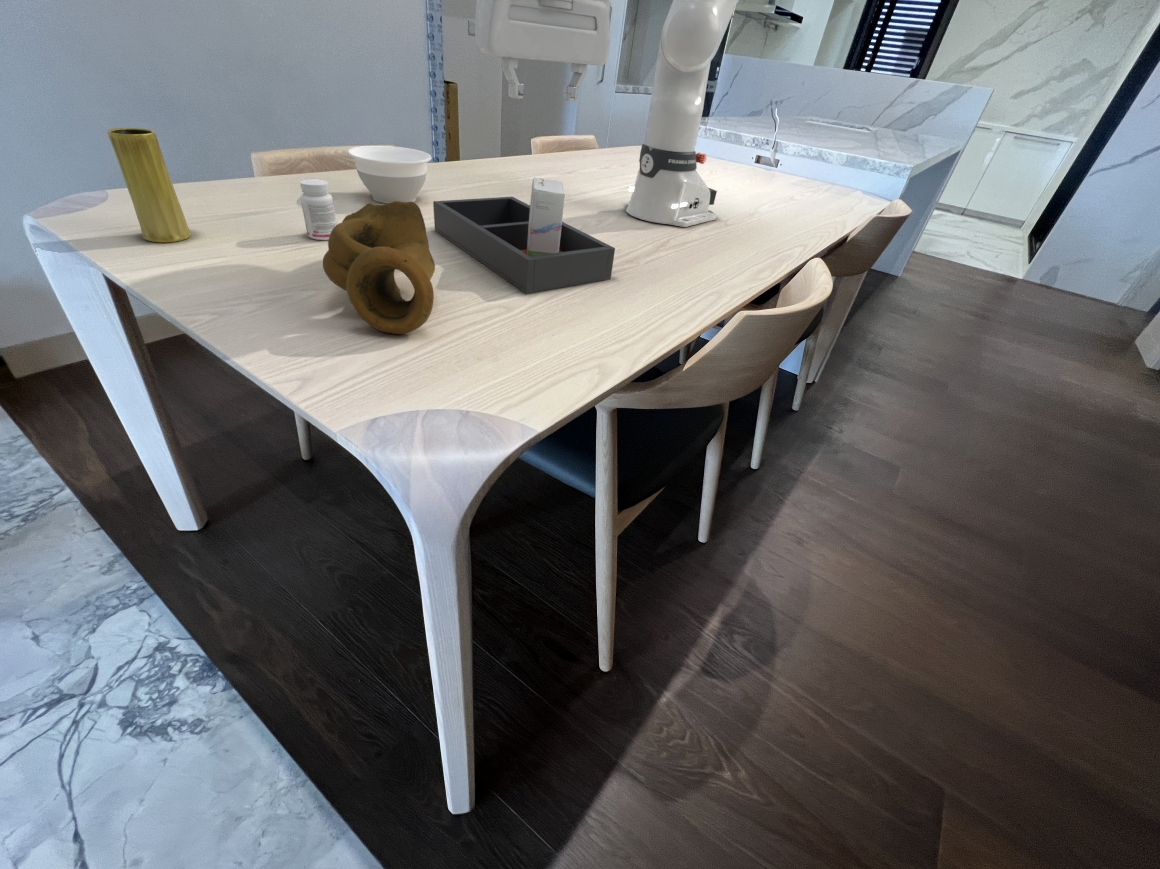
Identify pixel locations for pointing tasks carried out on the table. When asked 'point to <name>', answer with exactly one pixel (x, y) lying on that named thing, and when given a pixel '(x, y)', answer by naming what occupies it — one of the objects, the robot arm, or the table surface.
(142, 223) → the vase
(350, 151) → the bowl
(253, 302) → the table surface
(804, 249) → the table surface
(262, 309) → the table surface
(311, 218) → the pill bottle
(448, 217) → the organiser
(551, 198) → the ink box
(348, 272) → the brown looped sculpture
